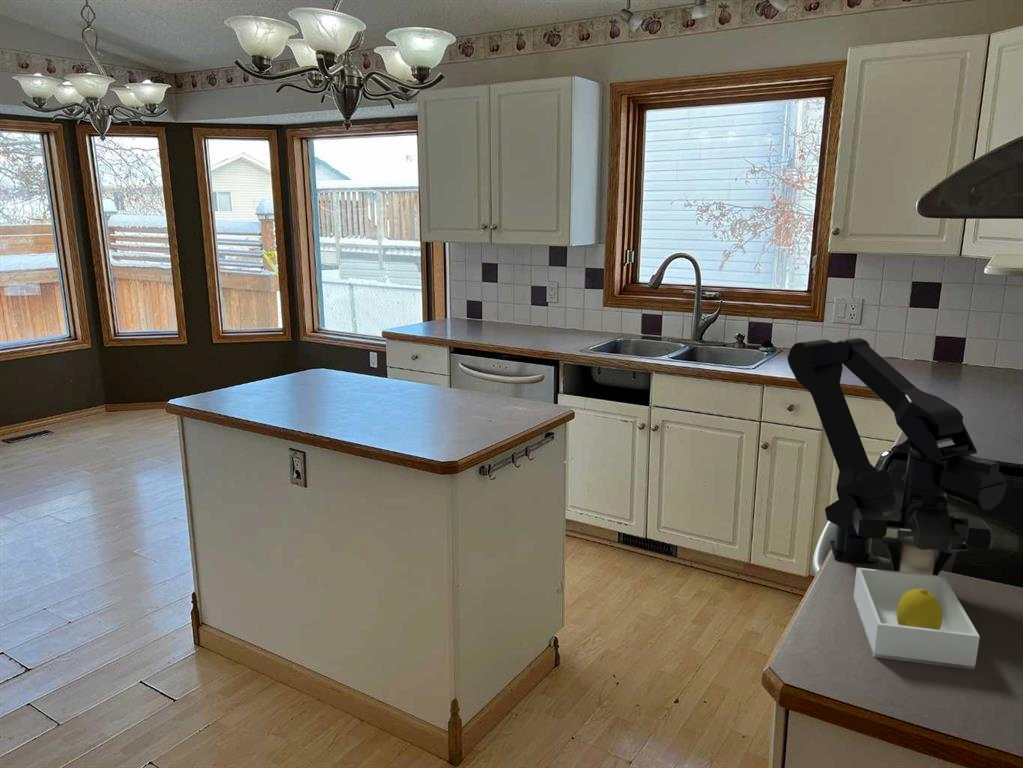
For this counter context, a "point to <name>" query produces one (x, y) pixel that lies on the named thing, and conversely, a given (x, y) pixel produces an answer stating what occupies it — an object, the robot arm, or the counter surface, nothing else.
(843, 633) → the counter surface
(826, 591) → the counter surface
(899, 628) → the tote
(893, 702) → the counter surface
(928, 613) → the lemon
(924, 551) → the birch peg
